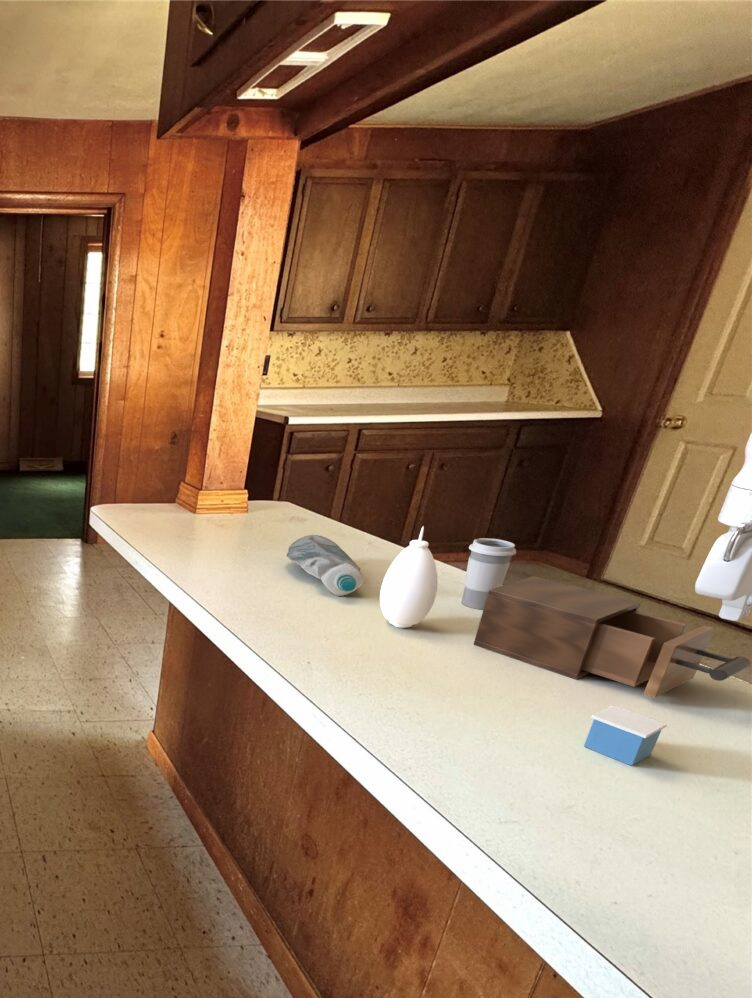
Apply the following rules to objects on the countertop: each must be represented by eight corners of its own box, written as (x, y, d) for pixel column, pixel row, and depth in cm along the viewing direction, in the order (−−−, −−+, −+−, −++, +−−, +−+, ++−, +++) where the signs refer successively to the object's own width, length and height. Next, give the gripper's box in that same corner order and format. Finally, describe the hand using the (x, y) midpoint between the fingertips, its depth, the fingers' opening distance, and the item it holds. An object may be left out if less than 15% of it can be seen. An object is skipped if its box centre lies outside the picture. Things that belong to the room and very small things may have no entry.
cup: (467, 595, 127) (483, 535, 122) (507, 606, 121) (526, 544, 117) (446, 603, 124) (462, 541, 119) (486, 614, 118) (505, 550, 114)
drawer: (742, 693, 89) (766, 641, 86) (704, 714, 85) (728, 660, 82) (584, 645, 104) (600, 599, 101) (544, 661, 100) (560, 613, 97)
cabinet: (619, 660, 101) (641, 602, 97) (575, 679, 96) (597, 619, 92) (516, 628, 112) (533, 575, 109) (473, 644, 107) (488, 589, 104)
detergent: (278, 560, 149) (303, 598, 126) (285, 529, 146) (312, 562, 124) (341, 567, 146) (379, 608, 123) (350, 536, 143) (390, 572, 121)
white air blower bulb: (427, 638, 110) (453, 534, 103) (372, 629, 114) (394, 529, 107) (426, 622, 116) (451, 523, 109) (374, 614, 120) (395, 518, 113)
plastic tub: (654, 755, 79) (667, 724, 77) (633, 767, 77) (646, 735, 75) (601, 735, 83) (612, 704, 81) (580, 746, 81) (591, 715, 79)
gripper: (779, 531, 73) (731, 644, 78) (848, 505, 81) (801, 609, 86) (700, 519, 78) (660, 625, 83) (772, 496, 86) (731, 594, 91)
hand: (732, 617), depth 85 cm, fingers closed
